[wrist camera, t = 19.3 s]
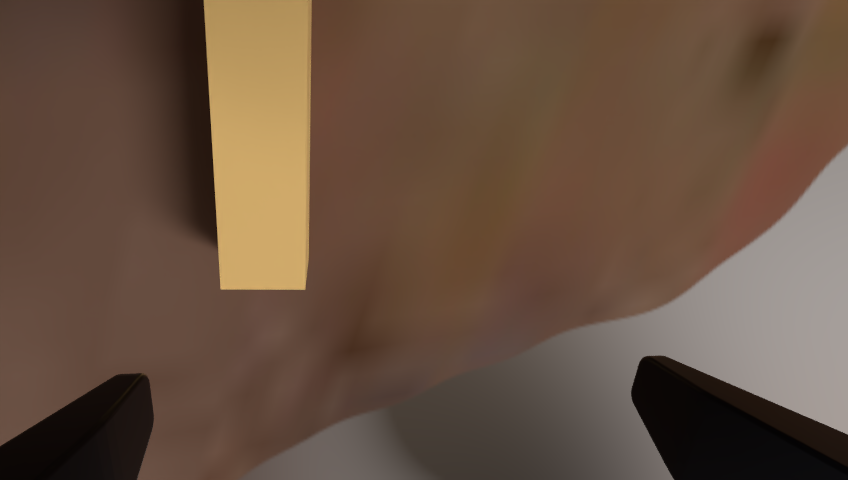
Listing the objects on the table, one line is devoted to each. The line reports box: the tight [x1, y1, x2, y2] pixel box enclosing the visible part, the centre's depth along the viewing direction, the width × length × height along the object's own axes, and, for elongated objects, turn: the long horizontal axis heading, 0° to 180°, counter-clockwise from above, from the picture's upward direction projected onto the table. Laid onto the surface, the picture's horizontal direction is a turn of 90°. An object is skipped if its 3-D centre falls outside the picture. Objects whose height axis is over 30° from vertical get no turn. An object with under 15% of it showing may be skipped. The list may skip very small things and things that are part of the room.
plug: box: [204, 0, 312, 290], centre depth 15 cm, size 4×16×4 cm, turn 174°
